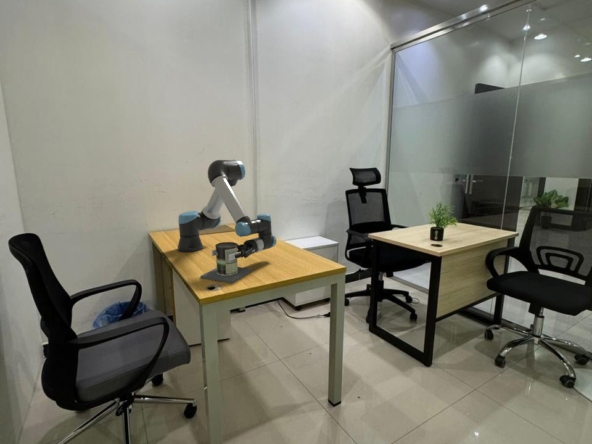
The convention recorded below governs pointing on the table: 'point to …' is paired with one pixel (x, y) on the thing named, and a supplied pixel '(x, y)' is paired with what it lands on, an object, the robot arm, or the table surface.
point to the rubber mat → (230, 279)
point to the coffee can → (226, 258)
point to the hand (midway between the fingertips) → (220, 255)
